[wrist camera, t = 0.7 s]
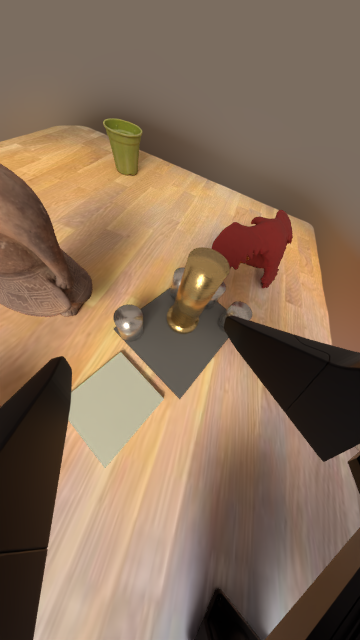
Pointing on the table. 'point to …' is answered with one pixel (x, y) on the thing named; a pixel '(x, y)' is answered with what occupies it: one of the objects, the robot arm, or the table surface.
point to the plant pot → (124, 144)
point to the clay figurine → (35, 256)
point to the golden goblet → (196, 288)
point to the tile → (112, 407)
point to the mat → (177, 344)
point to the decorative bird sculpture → (256, 244)
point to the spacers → (132, 317)
